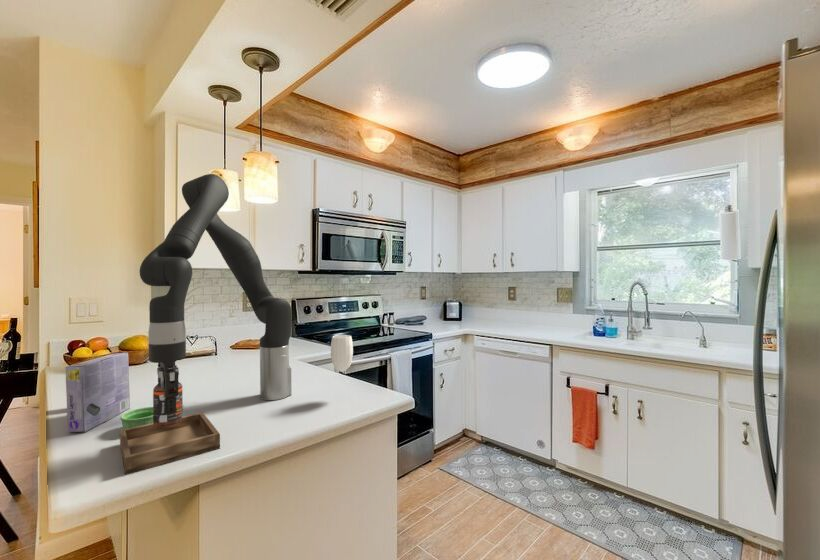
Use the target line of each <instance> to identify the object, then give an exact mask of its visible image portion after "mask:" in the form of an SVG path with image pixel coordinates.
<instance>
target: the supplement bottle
mask: <svg viewBox="0 0 820 560" xmlns="http://www.w3.org/2000/svg"><path fill="white" fill-rule="evenodd" d="M178 383H179V385H178V392H179V394H178V396H177V397H176V412H175V413H173V414H168V415H166V414H165V403H164V397H163V396H164V390H162V389H161V383H160V378H159V377H158V376H157V384H156V385H155V386H154V387H153V390H152V391H153V392H152V398H153V399H152V401H153V402H152V407H153V423H154V425H156V426H169V425H173V424H176V423H178V422H180V421H181V420H182V417H183V410H184V409H183V383H181V382H180V381H178ZM164 384H165V383H164ZM168 392H174V389H173V388H169V389H168Z"/></svg>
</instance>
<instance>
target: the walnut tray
mask: <svg viewBox="0 0 820 560" xmlns="http://www.w3.org/2000/svg"><path fill="white" fill-rule="evenodd" d="M119 443H120V444H119V446H120V450H121V456H122V457H121V458H122V464H123V468H124V469H123V470H124V474H125V476H126V475H129V474H133V473H137V472H140V471H143V470H144V471H145V470H147V469H151V468H152V469H153V468H154V467H159V466H161V465H166V464H170V463H173V462H176V461H180V460H183V459H188V458H191V457H194V456H198V455H201V454H204V453H208V452H213V451H216V450H220V449H221V433H220V432H219V431H218V430H217V428H216V427H215V425H213V423H212V422H211V421H210V419H209V418H208V416H206V415H205V414H204V412H198V413H194V414H189V415H184V416H183V415H182V420H181V421H180V422H178V423H176V424H173V425H169V426H156V425H154V423H151V424H146V425H142V426H137V427H132V428H128V429H123V428H122V429H120V430H119Z"/></svg>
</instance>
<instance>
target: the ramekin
mask: <svg viewBox="0 0 820 560" xmlns="http://www.w3.org/2000/svg"><path fill="white" fill-rule="evenodd" d="M120 420H121V423H122V430H123V429H128V428H132V427H137V426H142V425H146V424H151V423H153V406H148V407H141V408H135V409H132V410H129V411H127V412H126V411H125V412H123V414H121V416H120Z"/></svg>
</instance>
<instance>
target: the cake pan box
mask: <svg viewBox="0 0 820 560" xmlns="http://www.w3.org/2000/svg"><path fill="white" fill-rule="evenodd" d="M129 367H130V366H129V352H119V353H118V352H117V353H111V354H108V355H105V356H101V357H97V358H93V359H89V360H85V361H82V362H79V363H78V362H77V363H75V364H71V365H67V366H65V387H66V388H65V391H66V392H65V394H66V419H67V420H66V421H67V433H87V432H89V431H90V430H91V429H94V428H95V427H97V426H99V425H101V424H103V423H106V422H107V421H109V420H112V419H113V418H114V419H115V417H116V416H118V415H120V414H122V413H125V412H126V411H128V410H130V409H131V408H130V406H131V405H130V404H131V401H130V398H131V395H130V394H131V393H130V371H129V370H130V369H129Z"/></svg>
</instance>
